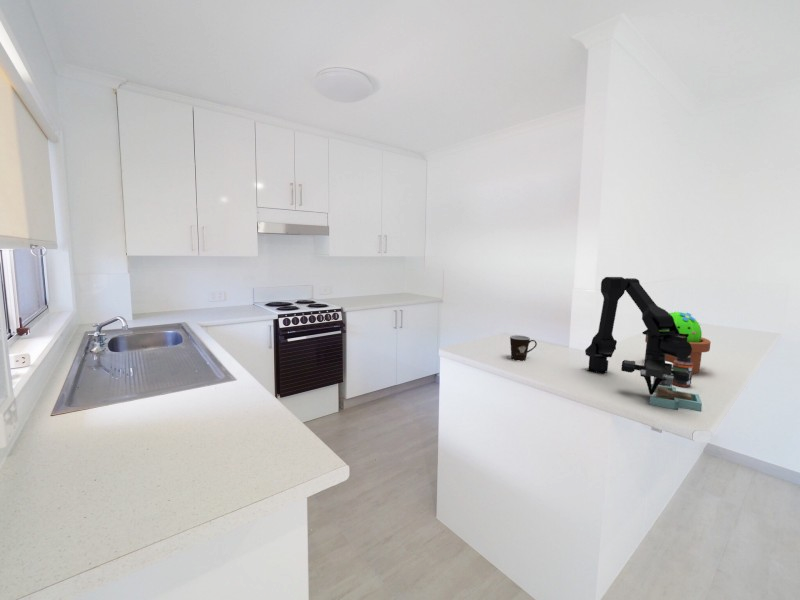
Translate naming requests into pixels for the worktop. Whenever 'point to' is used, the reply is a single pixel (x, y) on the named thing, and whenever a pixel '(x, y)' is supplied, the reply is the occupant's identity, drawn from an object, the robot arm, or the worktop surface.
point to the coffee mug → (520, 347)
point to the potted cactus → (690, 338)
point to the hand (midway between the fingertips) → (651, 394)
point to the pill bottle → (669, 379)
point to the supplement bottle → (683, 365)
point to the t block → (671, 394)
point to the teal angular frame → (677, 401)
